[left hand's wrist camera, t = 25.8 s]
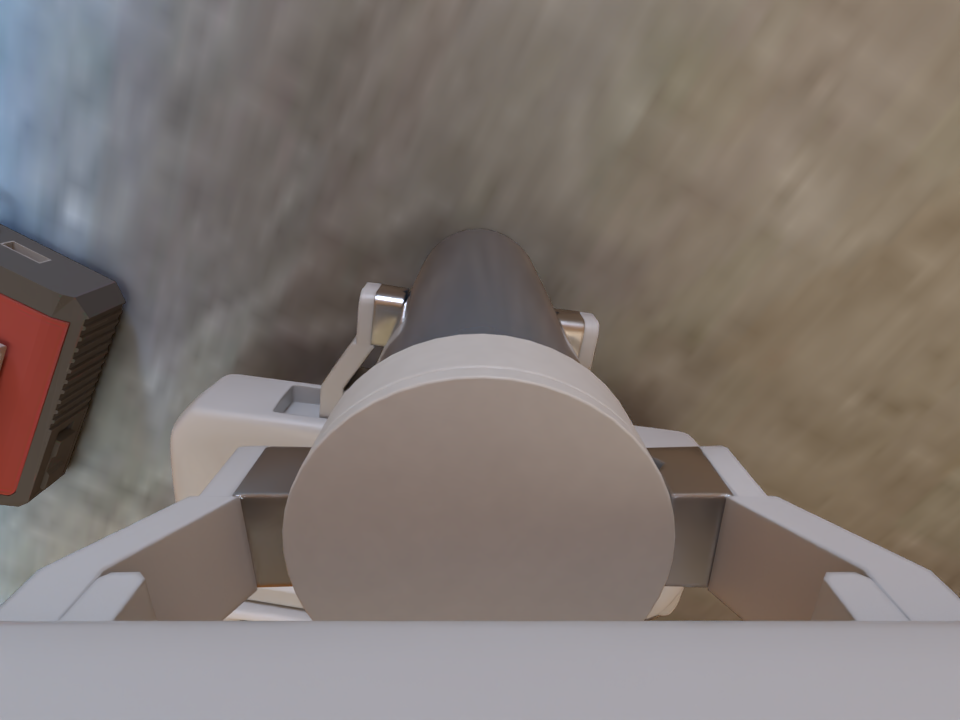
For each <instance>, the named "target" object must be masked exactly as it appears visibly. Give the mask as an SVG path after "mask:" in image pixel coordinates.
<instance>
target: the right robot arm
mask: <svg viewBox="0 0 960 720" xmlns="http://www.w3.org/2000/svg"><path fill="white" fill-rule="evenodd" d="M408 295H409V288H403V287H397V286H390V285H384V284H380V283H370V282H367V284H366V285H365V286H364V287H363V289H362V291H361V295H360V299H359V306H358V321H357V335H356V336H355V338H354V339H353V340H352V342H351V343H350V345H349V346H348V347H347V349H346V350H345V351H344V353H343V354H342V355H341V357H340V358H339V359H338V361H337V362H336V364H335V365H334V367H333V368H332V370H331V371H330V373H329V374H328V376H327V377H326V379H325V380H324V382H323V383H322V385H317V384H309V383H302V382H294V381H286V380H278V379H271V378H263V377H255V376H248V375H241V374H229V375H226V376H224V377H222V378H221V379H219V380H218V381H217V382H215V383H214V384H213V385H212V386H210V387H209V388H208V389H206V390H205V391H204V392H203V393H201V394H200V395H199V396H198V397H197V398H196V399H195V400H194V401H193V402H192V403H191V404H190V405H189V406H188V407H187V408H186V409H185V410H184V411H183V412H182V414H181V415H180V416H179V417H178V419H177V421H176V422H175V424H174V426H173V429H172V432H171V439H170V456H171V468H172V477H173V486H174V493H175V500H176V503H177V502H179V501H181V500H183V499H185V498H187V497H189V496H199V495H200V494H201V493H202V491H203V490H204V489H205V488H206V486H207V485H208V484H209V483H210V481H211V480H212V479H213V478H214V477H215V475H216V474H217V473H218V472H219V470H220V469H221V468H222V467H223V465H224V464H225V463H226V462H227V460H228V459H229V458H230V457H231V456H232V454H233V453H234V452H235V451H236V449H237V448H238V447H243V446H269V447H270V446H284V447H312V446H313V444H314V442H315V440H316V439H317V437H318V435H319V433H320V431H321V430H322V428H323V426H324V424H325V422H326V421H327V419H328V417H329V415H330V413H331V412H332V410H333V409H334V407H335V406H336V404H337V403H338V401H339V400H340V398H341V397H342V396H343V394H344V393H345V392H346V391H347V390H348V389H349V388H350V387H351V386H352V385H353V383H354V382H355V381H356V380H357V379H359V378H360V377H361V376H362V375H363V374H365V373H366V372H367V371H368V370H369V369H367V368H360V366H361V364H362V363H363V362H364V360H365V359H366V358H367V356H368V355H369V354H370V352H371V351H372V350H373V348H374V347H375V346H385V343H386V341H387V339H388V337H389V335H390V333H391V331H392V329H393V327H394V325H395V322H396V320H397V318H398V316H399V314H400V312H401V310H402V308H403V306H404V303H405V301H406V299H407V297H408ZM554 309H555V308H554ZM555 311H556V313H557V315H558V318H559V320H560V322H561V324H562V326H563V328H564V330H565V332H566V334H567V336H568V338H569V340H570V342H571V344H572V346H573V348H574V351H575V353H576V355H577V357H578V359H579V361H580V363H581V365H582V366H584V367H585V368H587V369H588V370H590V371H591V366H592V361H593V357H594V353H595V349H596V344H597V340H598V336H599V322H598V321H597V319H596V318H595V316H594V315H593V313H585V312H579V311H571V310H563V309H555ZM633 426H634V425H633ZM634 427H635V429H636V431H637V433H638V434H639V436H640V438H641V440H642V441H643V443H644V445H645V447H646V448H654V447H695V446H698V447H699V445H698V444H697V442H696V441H695V440H694V439H693V438H692V437H691V436H690V435H688V434H686V433H684V432H680V431H673V430H666V429H658V428H650V427H642V426H634ZM683 588H684V587H672V586H664V588H663V590H662V593H661V595H660V597H659V599H658V600H657V602H656V604H655V605H654V607H653V608H652V610H651V612H650V613H649V615H648V616H647V617H646V619H645V620H644V621H648V620H652V619H655V618H657V617H660V616H665V615H669V614H670V613H671V612H672V611H673V610H674V609H675V608H676V606H677V604H678V602H679V599H680V597H681V594H682V591H683ZM223 621H313V620H312V619H311V618H310V616H309V615H308V614H307V612H306V611H305V609H304V608H303V606H302V604H301V602H300V600H299V599H298V597H297V595H296V593H295V591H294V588H293V586H292V587H257V591H256V592H255V593H254V594H253V595H251V596H250V597H249V598H248V599H247V600H246V601H244V602H243V603H242V604H241V605H240V606H239V607H238V608H236V609H235V610H234V611H233V612H232V613H231V614H230V615H228V616H227V617H226V618H225V619H224V620H223Z"/></svg>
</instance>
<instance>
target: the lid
mask: <svg viewBox="0 0 960 720" xmlns="http://www.w3.org/2000/svg"><path fill="white" fill-rule="evenodd" d="M282 537H283V553H284V558H285V563H286V567H287V572H288V575H289V578H290V581H291V583H292V586H293V588H294V591H295V593H296V595H297V597H298V599H299V600H300V602H301V604H302V606H303V608H304V609H305V611H306V612H307V614H308V615H309V616H310V618H311V619H312V620H313V621H644V620H645V619H646V617H647V616H648V615H649V613H650V612H651V610H652V608H653V607H654V605H655V604H656V602H657V600H658V599H659V597H660V595H661V593H662V590H663V588H664V586H665V583H666V581H667V579H668V575H669V571H670V568H671V564H672V560H673V553H674V544H675V523H674V513H673V509H672V504H671V500H670V495H669V492H668V490H667V487H666V485H665V482H664V480H663V478H662V475H661V473H660V471H659V469H658V468H657V466H656V464H655V462H654V461H653V459H652V457H651V455H650V454H649V452H648V450H647V448H646V447H645V445H644V443H643V441H642V440H641V438H640V436H639V434H638V433H637V431H636V429H635V427H634V426H633V424H632V422H631V420H630V419H629V417H628V415H627V414H626V412H625V410H624V409H623V407H622V405H621V404H620V402H619V400H618V399H617V398H616V397H615V396H614V394H613V393H612V392H611V391H610V389H609V388H608V387H607V386H606V385H605V384H604V383H603V382H602V381H601V380H600V379H599V378H598V377H596V376H595V375H594V374H593V373H592V372H591V371H590V370H588V369H587V368H585V367H584V366H582V365H581V364H579V363H578V362H577V361H575V360H574V359H572V358H570V357H568V356H566V355H564V354H562V353H560V352H558V351H556V350H554V349H552V348H550V347H547V346H544V345H541V344H538V343H535V342H533V341H530V340H525V339H520V338H515V337H511V336H505V335H493V334H463V335H454V336H448V337H442V338H436V339H433V340H429V341H426V342H423V343H419V344H416V345H413V346H411V347H408V348H406V349H404V350H402V351H399V352H397V353H395V354H393V355H391V356H389V357H388V358H386V359H384V360H383V361H381V362H380V363H378V364H376V365H375V366H373V367H372V368H371V369H369V370H368V371H367V372H366V373H365V374H363V375H362V376H361V377H360V378H359V379H357V380H356V381H355V382H354V383H353V385H352V386H351V387H350V388H349V389H348V390H347V391H346V392H345V393H344V394H343V396H342V397H341V398H340V400H339V401H338V403H337V404H336V406H335V407H334V409H333V410H332V412H331V413H330V415H329V417H328V419H327V421H326V422H325V424H324V426H323V428H322V430H321V431H320V433H319V435H318V437H317V439H316V440H315V442H314V444H313V446H312V448H311V449H310V451H309V453H308V455H307V457H306V458H305V460H304V462H303V464H302V466H301V467H300V469H299V472H298V474H297V476H296V478H295V480H294V482H293V484H292V487H291V489H290V492H289V496H288V499H287V503H286V506H285V510H284V519H283V528H282Z"/></svg>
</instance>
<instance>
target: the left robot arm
mask: <svg viewBox="0 0 960 720" xmlns="http://www.w3.org/2000/svg"><path fill="white" fill-rule="evenodd" d="M311 448H312V447H284V446H270V447H269V446H243V447H238V448H237V449H236V451H235V452H234V453H233V454H232V456H231V457H230V458H229V459H228V460H227V462H226V463H225V464H224V465H223V467H222V468H221V469H220V470H219V472H218V473H217V474H216V475H215V477H214V478H213V479H212V480H211V481H210V483H209V484H208V485H207V486H206V488H205V489H204V490H203V491H202V493H201V494H200V495H199V496H189V497H187V498H185V499H183V500H181V501H179V502H177V503H175V504H173V505H171V506H169V507H167V508H164V509H162V510H160V511H158V512H156V513H154V514H152V515H150V516H148V517H146V518H144V519H142V520H140V521H138V522H136V523H134V524H131V525H129V526H127V527H125V528H123V529H121V530H119V531H117V532H115V533H113V534H111V535H109V536H107V537H105V538H103V539H100V540H98V541H96V542H94V543H92V544H90V545H88V546H86V547H84V548H82V549H80V550H78V551H76V552H74V553H72V554H70V555H67V556H65V557H63V558H61V559H59V560H57V561H55V562H53V563H51V564H49V565H47V566H45V567H43V568H41V569H39V570H37V571H36V572H35V573H34V574H33V575H32V576H31V577H30V578H29V579H28V580H27V581H26V582H25V583H24V584H23V585H22V586H21V587H20V588H18V589H17V590H16V591H15V592H14V593H13V594H12V595H11V596H10V597H9V598H8V599H7V600H6V601H5V602H4V603H3V604H2V605H1V606H0V720H960V598H959V597H958V596H957V595H956V594H955V593H954V592H953V591H952V590H951V589H950V588H949V587H948V586H947V585H946V584H944V583H943V582H942V581H941V580H940V579H939V578H938V577H937V576H936V575H935V574H934V573H933V572H932V571H931V570H929V569H926V568H924V567H922V566H920V565H918V564H916V563H914V562H912V561H910V560H908V559H906V558H904V557H902V556H899V555H897V554H895V553H893V552H891V551H889V550H887V549H885V548H883V547H881V546H879V545H877V544H875V543H872V542H870V541H868V540H866V539H864V538H862V537H860V536H858V535H856V534H854V533H852V532H850V531H848V530H845V529H843V528H841V527H839V526H837V525H835V524H833V523H831V522H829V521H827V520H825V519H823V518H821V517H818V516H816V515H814V514H812V513H810V512H808V511H806V510H804V509H802V508H800V507H798V506H796V505H794V504H791V503H789V502H787V501H785V500H783V499H781V498H779V497H777V496H767V495H766V494H765V493H764V491H763V490H762V489H761V488H760V487H759V485H758V484H757V483H756V482H755V481H754V479H753V478H752V477H751V476H750V475H749V473H748V472H747V471H746V470H745V468H744V467H743V466H742V465H741V464H740V462H739V461H738V460H737V459H736V458H735V456H734V455H733V454H732V453H731V452H730V450H729V449H728V448H726V447H724V446H699V447H698V446H695V447H654V448H647V450H648V452H649V454H650V455H651V457H652V459H653V461H654V462H655V464H656V466H657V468H658V469H659V471H660V473H661V475H662V478H663V480H664V482H665V485H666V487H667V490H668V492H669V495H670V500H671V504H672V509H673V513H674V523H675V544H674V553H673V560H672V564H671V568H670V571H669V575H668V579H667V581H666V583H665V586H672V587H708V590H709V591H710V592H711V593H712V594H713V595H715V596H716V597H717V598H718V599H719V600H720V601H722V602H723V603H724V604H725V605H726V606H727V607H729V608H730V609H731V610H732V611H733V612H734V613H735V614H737V615H738V616H739V617H740V618H741V619H742V620H744V621H223V620H224V619H225V618H226V617H227V616H228V615H230V614H231V613H232V612H233V611H234V610H235V609H236V608H238V607H239V606H240V605H241V604H242V603H243V602H244V601H246V600H247V599H248V598H249V597H250V596H251V595H253V594H254V593H255V592H256V591H257V587H292V583H291V581H290V578H289V575H288V572H287V567H286V563H285V558H284V553H283V537H282V528H283V519H284V510H285V506H286V503H287V499H288V496H289V492H290V489H291V487H292V484H293V482H294V480H295V478H296V476H297V474H298V472H299V469H300V467H301V466H302V464H303V462H304V460H305V458H306V457H307V455H308V453H309V451H310V449H311Z"/></svg>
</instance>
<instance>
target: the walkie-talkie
mask: <svg viewBox="0 0 960 720" xmlns="http://www.w3.org/2000/svg"><path fill="white" fill-rule="evenodd" d="M124 303H125V300H124V298H123V296H122V294H121V292H120V289H119V287H118V285H117V283H116V282H115V281H113V280H111V279H109V278H107V277H105V276H103V275H101V274H99V273H97V272H95V271H93V270H91V269H89V268H87V267H85V266H83V265H81V264H79V263H77V262H75V261H73V260H71V259H69V258H67V257H65V256H63V255H61V254H59V253H57V252H55V251H53V250H51V249H49V248H47V247H45V246H43V245H41V244H39V243H37V242H35V241H33V240H31V239H29V238H27V237H25V236H23V235H21V234H19V233H17V232H15V231H13V230H11V229H9V228H7V227H5V226H3V225H1V224H0V505H8V506H18V507H19V506H21V505H24V504H26V503H28V502H29V501H31V500H32V499H33V498H34V497H36V496H37V495H38V494H39V493H41V492H42V491H43V490H45V489H46V488H47V487H49V486H50V485H51V484H52V483H54V482H55V481H56V480H57V479H59V478H60V477H61V476H62V475H63V474H65V472H66V469H67V466H68V463H69V460H70V457H71V455H72V452H73V449H74V446H75V443H76V441H77V438H78V435H79V432H80V429H81V426H82V424H83V421H84V418H85V415H86V412H87V409H88V407H89V405H88V402H89V401H90V400H91V398H92V396H91V393H92V392H93V391H94V390H95V386H94V385H95V383H96V382H97V381H98V377H97V376H98V373H100V372H101V370H102V369H101V365H102V364H103V363H104V361H105V359H104V356H105V354H107V353H108V345H109V344H111V342H112V340H111V337H112V334H114V333H115V329H114V328H115V325H116V324H118V322H119V320H118V317H119V314H121V313H122V311H123V310H122V305H123V304H124Z"/></svg>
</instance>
